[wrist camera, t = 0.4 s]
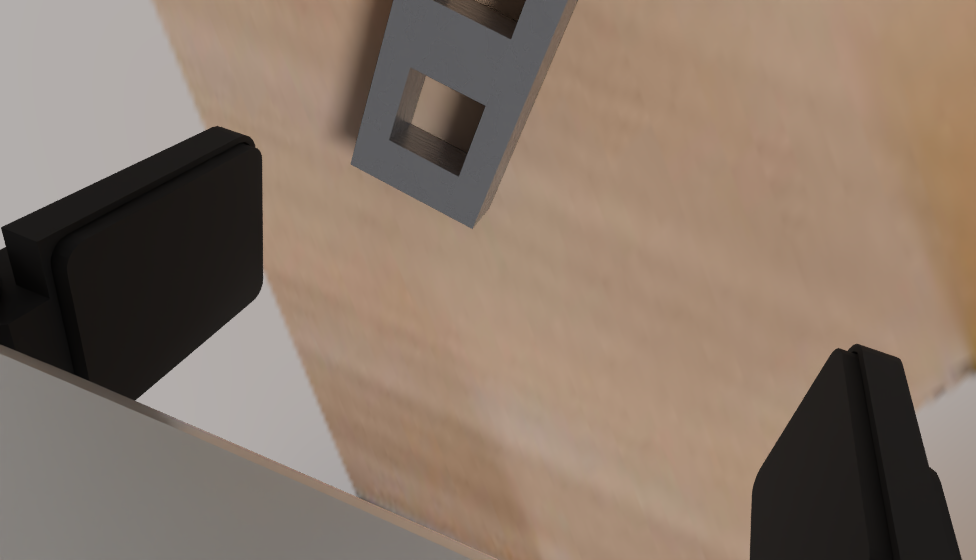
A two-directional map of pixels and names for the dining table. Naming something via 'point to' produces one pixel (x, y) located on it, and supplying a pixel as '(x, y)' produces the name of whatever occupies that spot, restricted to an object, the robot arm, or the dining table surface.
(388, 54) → the peg board
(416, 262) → the dining table surface
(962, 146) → the dining table surface
